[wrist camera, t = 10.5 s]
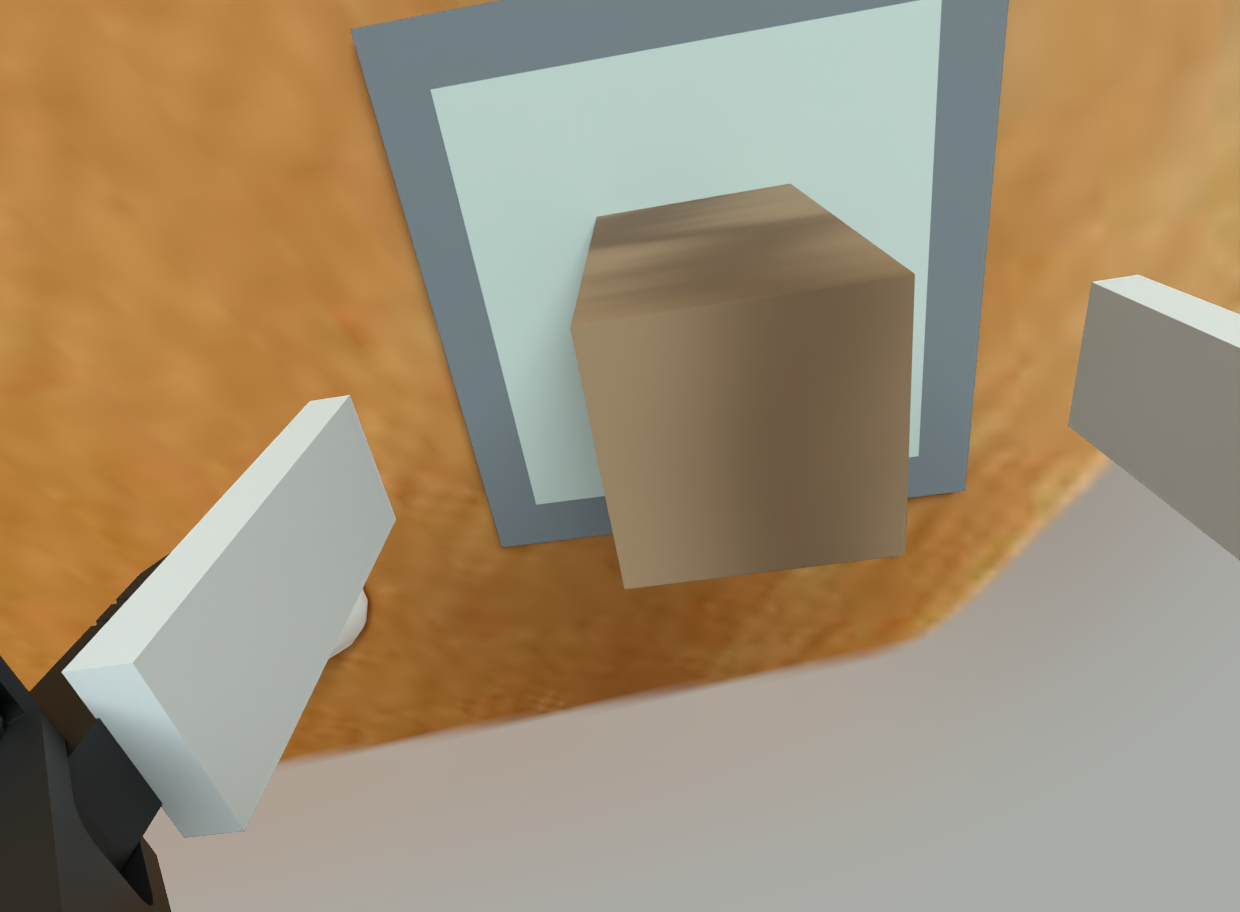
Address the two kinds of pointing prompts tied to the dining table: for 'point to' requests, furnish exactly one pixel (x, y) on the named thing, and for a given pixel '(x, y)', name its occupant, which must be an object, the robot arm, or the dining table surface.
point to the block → (745, 386)
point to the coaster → (676, 188)
